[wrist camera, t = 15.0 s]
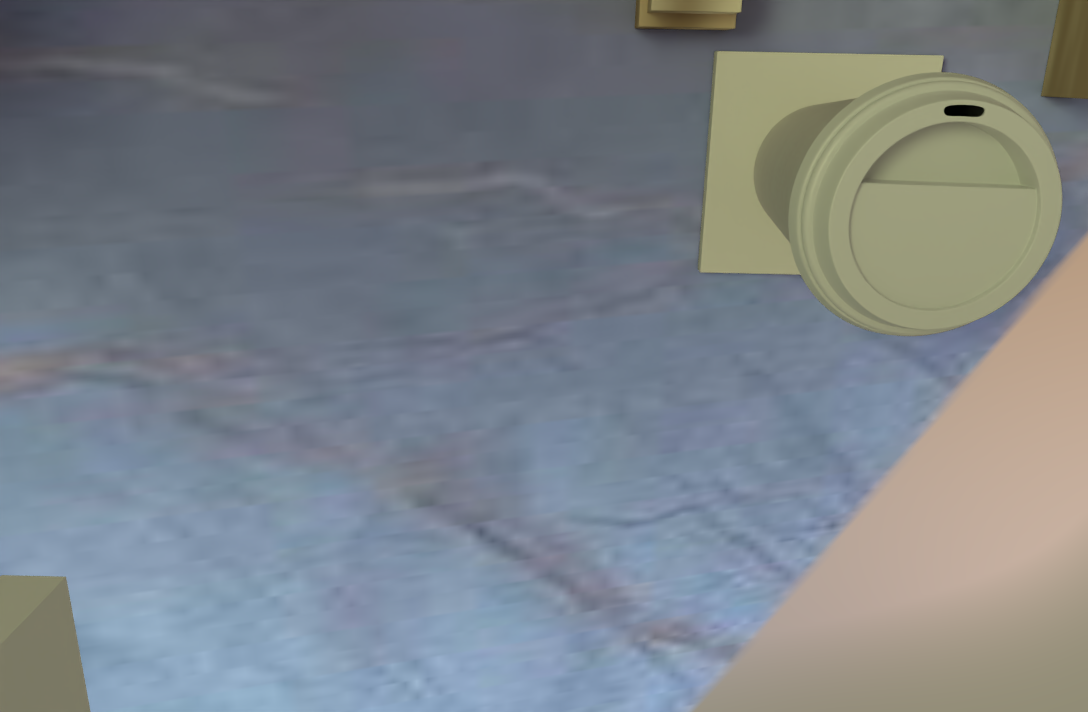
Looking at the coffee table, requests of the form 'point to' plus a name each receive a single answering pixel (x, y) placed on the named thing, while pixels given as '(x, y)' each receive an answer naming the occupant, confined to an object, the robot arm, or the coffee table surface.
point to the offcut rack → (1068, 52)
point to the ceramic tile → (743, 123)
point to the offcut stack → (687, 14)
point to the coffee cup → (913, 201)
